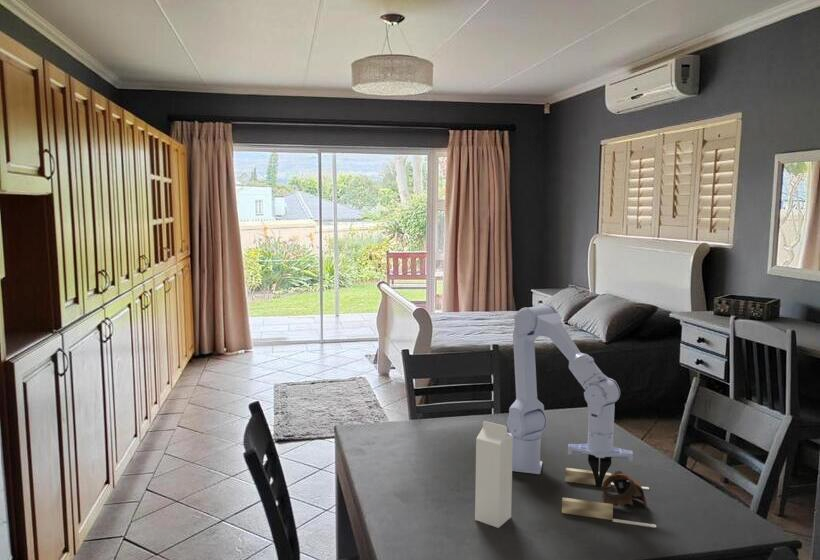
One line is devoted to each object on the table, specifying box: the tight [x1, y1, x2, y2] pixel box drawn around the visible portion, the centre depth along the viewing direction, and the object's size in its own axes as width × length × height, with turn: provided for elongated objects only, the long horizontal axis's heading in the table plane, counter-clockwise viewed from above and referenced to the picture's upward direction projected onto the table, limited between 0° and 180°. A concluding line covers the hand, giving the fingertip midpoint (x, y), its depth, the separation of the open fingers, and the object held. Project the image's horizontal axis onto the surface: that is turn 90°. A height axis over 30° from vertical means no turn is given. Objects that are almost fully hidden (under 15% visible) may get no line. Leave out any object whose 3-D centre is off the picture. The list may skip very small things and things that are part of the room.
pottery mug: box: [601, 470, 648, 509], centre depth 143 cm, size 12×10×8 cm
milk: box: [474, 420, 513, 529], centre depth 135 cm, size 6×6×22 cm
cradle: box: [561, 467, 614, 521], centre depth 146 cm, size 11×18×3 cm, turn 163°
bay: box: [611, 482, 657, 528], centre depth 143 cm, size 9×20×1 cm, turn 163°
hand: (598, 485), depth 145 cm, fingers closed
